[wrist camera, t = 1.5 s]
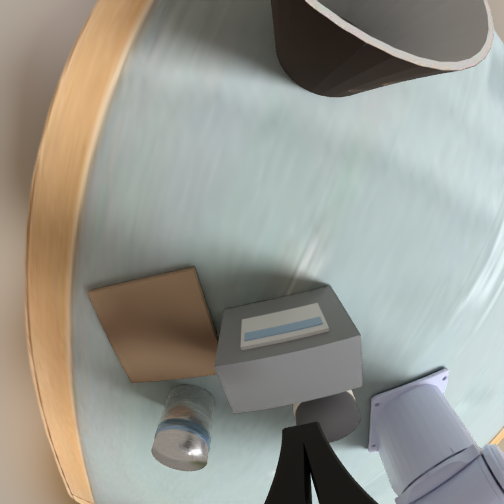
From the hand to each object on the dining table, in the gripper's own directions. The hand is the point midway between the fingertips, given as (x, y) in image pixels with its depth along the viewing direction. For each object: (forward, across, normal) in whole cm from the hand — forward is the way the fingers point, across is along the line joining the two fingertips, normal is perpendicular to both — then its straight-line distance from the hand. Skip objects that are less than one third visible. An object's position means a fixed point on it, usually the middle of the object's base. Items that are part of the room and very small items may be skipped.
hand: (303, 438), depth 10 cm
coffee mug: (+10, -8, -16) cm, 21 cm away
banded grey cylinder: (+10, -2, +5) cm, 11 cm away
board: (+10, +8, -1) cm, 13 cm away
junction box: (+10, 0, 0) cm, 10 cm away
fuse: (+10, +8, +6) cm, 14 cm away
